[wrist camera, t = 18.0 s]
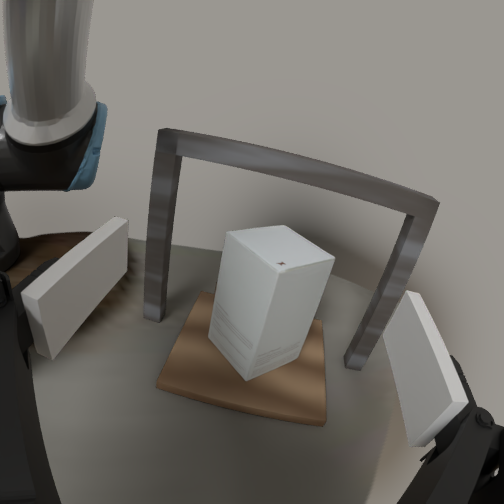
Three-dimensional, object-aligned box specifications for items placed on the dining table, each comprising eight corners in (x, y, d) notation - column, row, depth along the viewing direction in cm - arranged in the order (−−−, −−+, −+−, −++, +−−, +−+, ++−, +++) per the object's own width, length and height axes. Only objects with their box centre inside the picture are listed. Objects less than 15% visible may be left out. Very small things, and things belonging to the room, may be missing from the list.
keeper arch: (369, 431, 27) (487, 242, 17) (109, 370, 28) (103, 142, 18) (354, 333, 41) (415, 184, 32) (164, 287, 42) (184, 124, 33)
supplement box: (299, 359, 34) (339, 258, 28) (244, 383, 29) (277, 272, 24) (259, 319, 38) (285, 223, 33) (205, 335, 34) (224, 228, 28)
